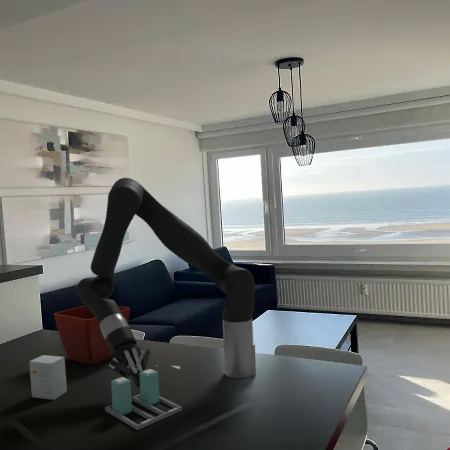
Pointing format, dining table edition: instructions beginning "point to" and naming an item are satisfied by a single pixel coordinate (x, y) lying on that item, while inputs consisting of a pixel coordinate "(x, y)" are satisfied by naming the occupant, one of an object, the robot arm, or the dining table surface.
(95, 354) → the plant pot
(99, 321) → the robot arm
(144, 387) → the tab
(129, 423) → the switch board
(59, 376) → the small box
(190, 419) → the dining table surface
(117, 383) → the tab
